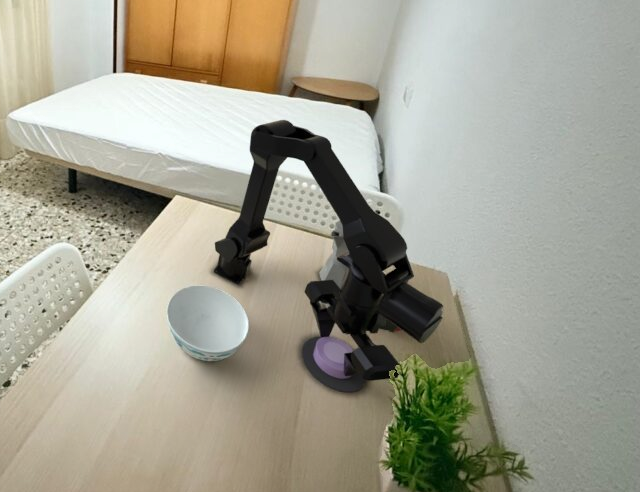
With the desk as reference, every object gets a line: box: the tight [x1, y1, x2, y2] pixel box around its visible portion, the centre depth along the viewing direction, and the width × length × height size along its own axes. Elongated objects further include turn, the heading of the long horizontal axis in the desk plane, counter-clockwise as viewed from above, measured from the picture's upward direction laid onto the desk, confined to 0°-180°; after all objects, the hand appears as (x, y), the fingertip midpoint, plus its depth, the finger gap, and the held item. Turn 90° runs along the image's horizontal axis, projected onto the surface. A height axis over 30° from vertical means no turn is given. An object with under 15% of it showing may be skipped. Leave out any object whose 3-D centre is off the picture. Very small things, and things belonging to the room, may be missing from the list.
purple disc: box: [313, 336, 354, 379], centre depth 74 cm, size 7×7×2 cm
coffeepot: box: [319, 220, 348, 289], centre depth 90 cm, size 15×9×18 cm, turn 101°
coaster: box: [301, 336, 367, 393], centre depth 75 cm, size 11×11×1 cm
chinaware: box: [166, 284, 250, 362], centre depth 76 cm, size 15×15×8 cm
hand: (335, 356), depth 74 cm, fingers closed on purple disc, 7 cm apart
